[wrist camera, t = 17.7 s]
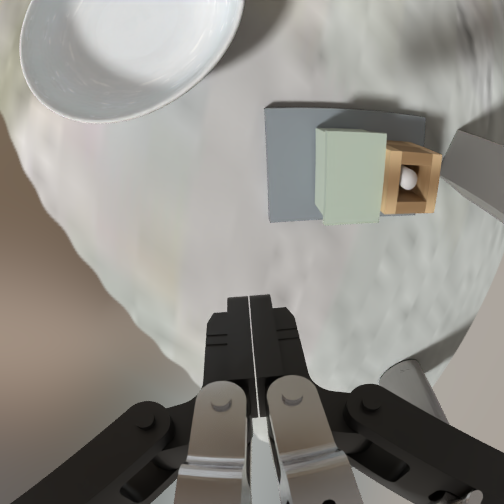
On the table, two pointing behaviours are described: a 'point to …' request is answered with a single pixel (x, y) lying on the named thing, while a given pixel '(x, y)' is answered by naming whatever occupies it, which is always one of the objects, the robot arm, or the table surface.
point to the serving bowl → (121, 53)
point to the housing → (349, 175)
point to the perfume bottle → (476, 171)
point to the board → (304, 152)
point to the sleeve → (427, 178)
